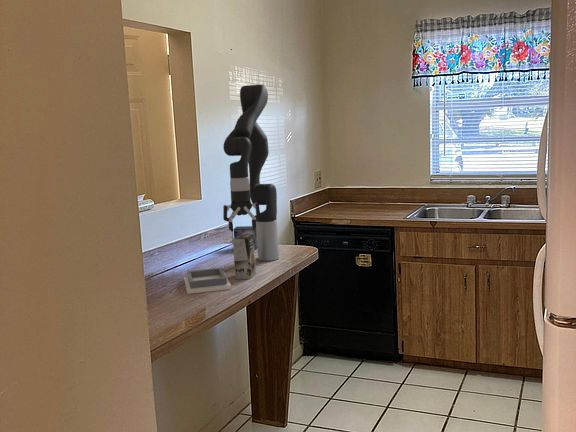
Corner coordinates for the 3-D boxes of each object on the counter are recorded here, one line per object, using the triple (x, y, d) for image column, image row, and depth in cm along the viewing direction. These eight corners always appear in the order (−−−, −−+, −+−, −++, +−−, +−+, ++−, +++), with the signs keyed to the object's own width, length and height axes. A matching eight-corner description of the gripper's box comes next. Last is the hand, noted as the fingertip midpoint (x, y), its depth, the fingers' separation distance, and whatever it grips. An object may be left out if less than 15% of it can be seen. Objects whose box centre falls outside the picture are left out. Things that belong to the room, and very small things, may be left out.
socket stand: (184, 280, 236) (183, 270, 235) (224, 276, 239) (224, 266, 239) (187, 293, 218) (186, 283, 217) (231, 288, 221) (230, 278, 220)
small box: (234, 250, 286) (232, 228, 285) (237, 247, 293) (236, 226, 291) (255, 250, 284) (254, 228, 283) (258, 247, 291) (257, 225, 289)
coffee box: (250, 279, 233) (248, 238, 230) (234, 279, 234) (232, 238, 232) (256, 273, 242) (254, 233, 239) (241, 273, 243) (238, 234, 241)
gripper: (256, 186, 238) (258, 227, 240) (220, 189, 235) (223, 230, 237) (259, 188, 231) (262, 230, 233) (222, 191, 228) (225, 233, 230)
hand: (242, 230), depth 235 cm, fingers open, 8 cm apart
